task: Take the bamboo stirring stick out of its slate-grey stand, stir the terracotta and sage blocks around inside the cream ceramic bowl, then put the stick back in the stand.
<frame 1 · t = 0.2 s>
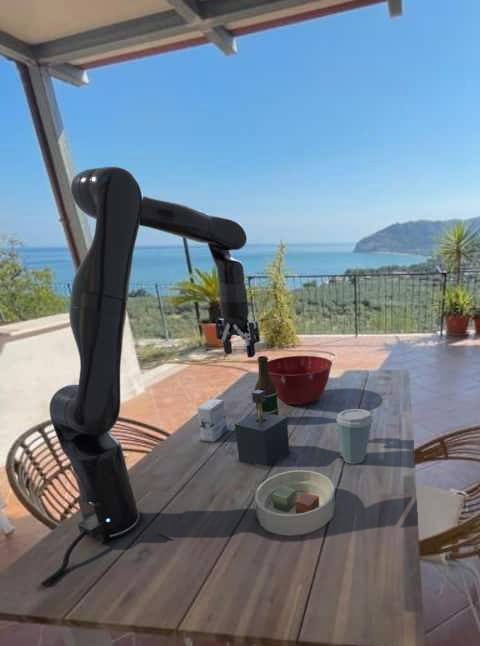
hand: (239, 355, 115), 29 cm above the table, tool pointing down, fingers open, 8 cm apart
mixing bowl: (299, 399, 163), on the table
stirring stick: (261, 425, 114), in the stick stand
bowl: (296, 512, 93), on the table
stick stand: (264, 456, 118), on the table
sage block: (285, 505, 94), point 1 cm above the table, touching bowl
terracotta block: (307, 513, 91), point 1 cm above the table, touching bowl
disposable coffee cup: (354, 459, 117), on the table
ink box: (215, 436, 131), on the table
beer bottle: (268, 420, 143), on the table
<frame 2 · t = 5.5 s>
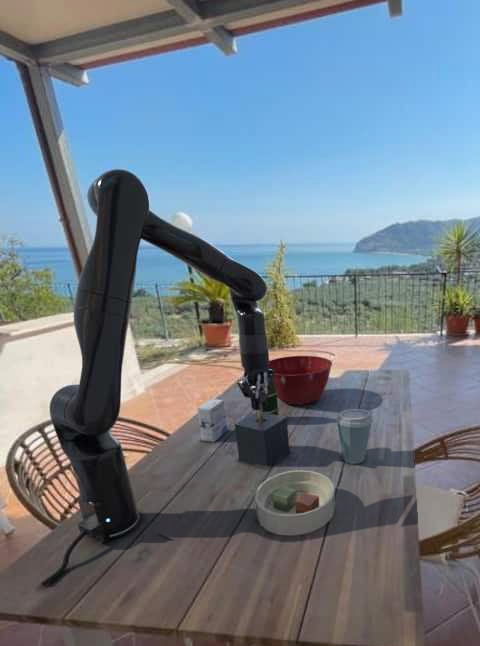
hand: (259, 407, 112), 16 cm above the table, tool pointing down, fingers closed on stirring stick, 2 cm apart
stirring stick: (261, 425, 114), in the stick stand, touching gripper
everything else where it was.
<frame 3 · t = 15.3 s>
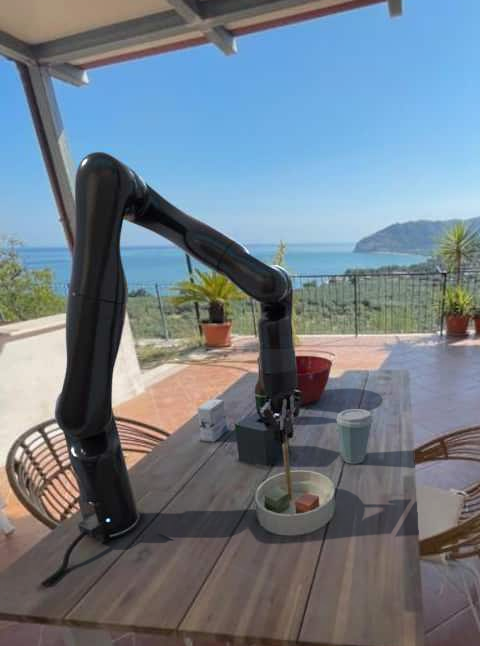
hand: (284, 439, 87), 19 cm above the table, tool pointing down, fingers closed on stirring stick, 2 cm apart
stirring stick: (286, 461, 90), point 13 cm above the table, touching gripper, sage block
sage block: (278, 508, 93), point 1 cm above the table, touching bowl, stirring stick
everything else where it was.
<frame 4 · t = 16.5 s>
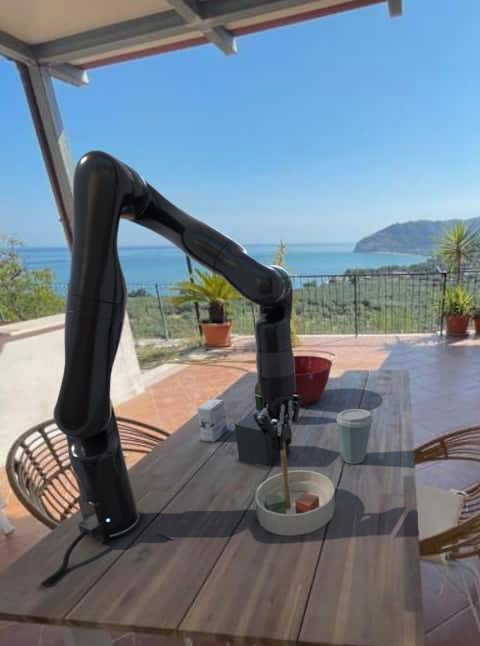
hand: (282, 446, 84), 19 cm above the table, tool pointing down, fingers closed on stirring stick, 2 cm apart
stirring stick: (284, 468, 86), point 13 cm above the table, touching gripper
sage block: (276, 512, 91), point 1 cm above the table, touching bowl
everything else where it was.
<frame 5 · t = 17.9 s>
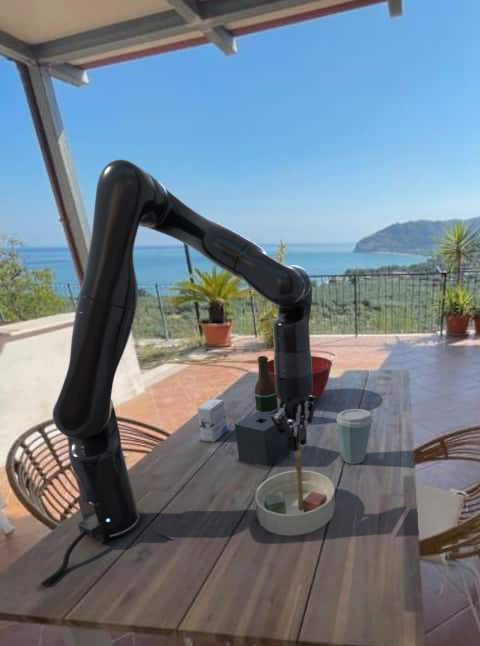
hand: (297, 446, 84), 19 cm above the table, tool pointing down, fingers closed on stirring stick, 2 cm apart
stirring stick: (298, 469, 86), point 13 cm above the table, touching gripper, terracotta block
terracotta block: (315, 512, 92), point 1 cm above the table, touching bowl, stirring stick
everything else where it was.
when the fingers open (16 cm above the table, at t = 29.1 s): stirring stick stays where it is, resting in stick stand.
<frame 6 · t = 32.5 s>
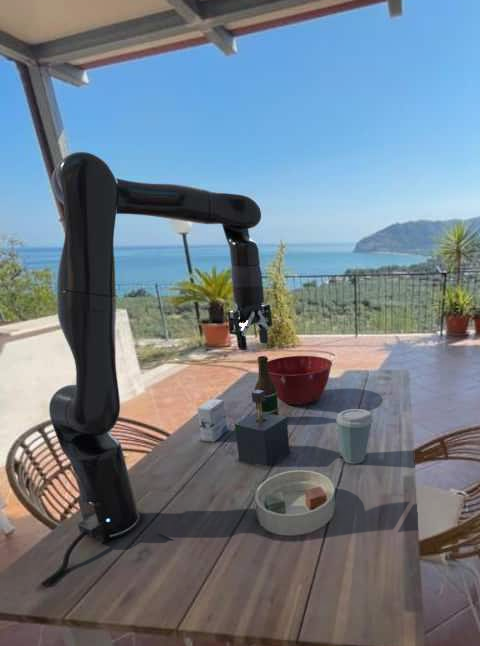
hand: (253, 346, 105), 34 cm above the table, tool pointing down, fingers open, 8 cm apart
stirring stick: (261, 425, 114), in the stick stand
terracotta block: (316, 506, 93), point 1 cm above the table, touching bowl
everything else where it was.
at the end: sage block moved 3.1 cm from its start; sage block inside the target area in the bowl (4.8 cm from its centre), point 0.8 cm above the bowl's base; terracotta block inside the target area in the bowl (4.7 cm from its centre), point 0.8 cm above the bowl's base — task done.
